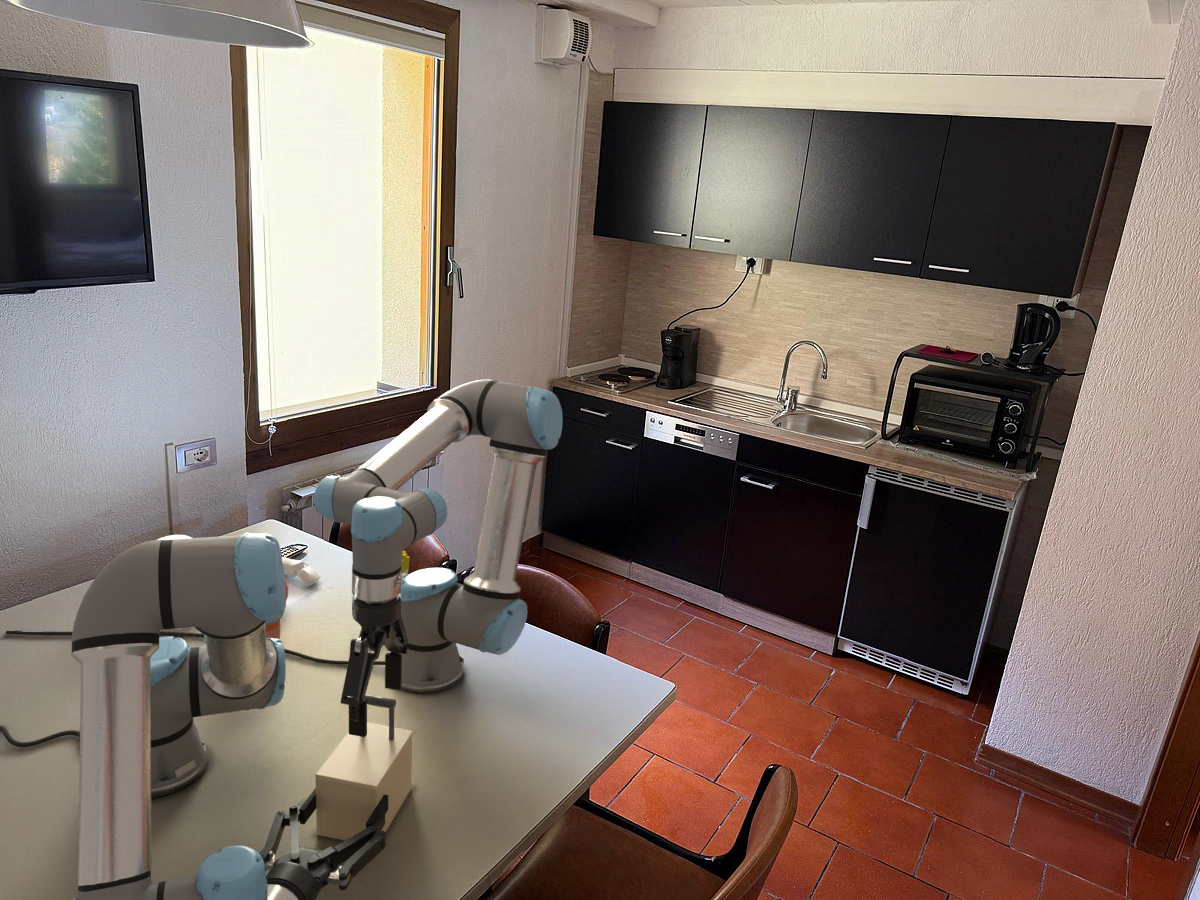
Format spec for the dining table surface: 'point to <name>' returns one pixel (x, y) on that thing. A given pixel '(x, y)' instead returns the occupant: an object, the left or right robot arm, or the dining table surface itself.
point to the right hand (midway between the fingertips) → (376, 710)
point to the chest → (361, 800)
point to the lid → (367, 752)
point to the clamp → (300, 571)
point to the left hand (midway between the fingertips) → (354, 795)
